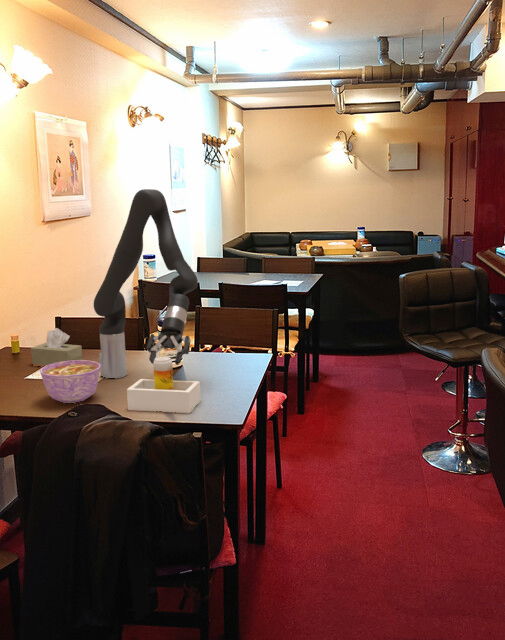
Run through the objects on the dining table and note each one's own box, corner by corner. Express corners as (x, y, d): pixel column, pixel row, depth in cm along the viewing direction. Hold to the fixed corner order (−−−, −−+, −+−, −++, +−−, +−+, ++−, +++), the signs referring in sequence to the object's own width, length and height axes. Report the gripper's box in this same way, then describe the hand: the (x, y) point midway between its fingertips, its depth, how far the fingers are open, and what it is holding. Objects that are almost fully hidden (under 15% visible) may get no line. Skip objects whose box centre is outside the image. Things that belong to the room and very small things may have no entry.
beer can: (170, 405, 208) (168, 361, 205) (152, 405, 209) (150, 360, 206) (176, 400, 214) (174, 356, 211) (159, 399, 215) (157, 356, 212)
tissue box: (83, 364, 266) (80, 327, 263) (69, 370, 258) (65, 332, 254) (47, 360, 273) (43, 324, 270) (31, 366, 264) (28, 329, 261)
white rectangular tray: (128, 410, 208) (126, 389, 207) (141, 398, 219) (140, 378, 218) (189, 413, 204) (188, 392, 202) (200, 401, 215) (199, 381, 214)
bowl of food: (100, 388, 232) (97, 357, 230) (106, 405, 213) (103, 371, 211) (42, 395, 226) (39, 363, 223) (43, 412, 207) (40, 378, 205)
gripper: (151, 315, 218) (140, 356, 209) (191, 316, 215) (182, 358, 206) (157, 327, 224) (147, 367, 215) (196, 328, 221) (187, 369, 213)
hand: (164, 363), depth 211 cm, fingers open, 8 cm apart
